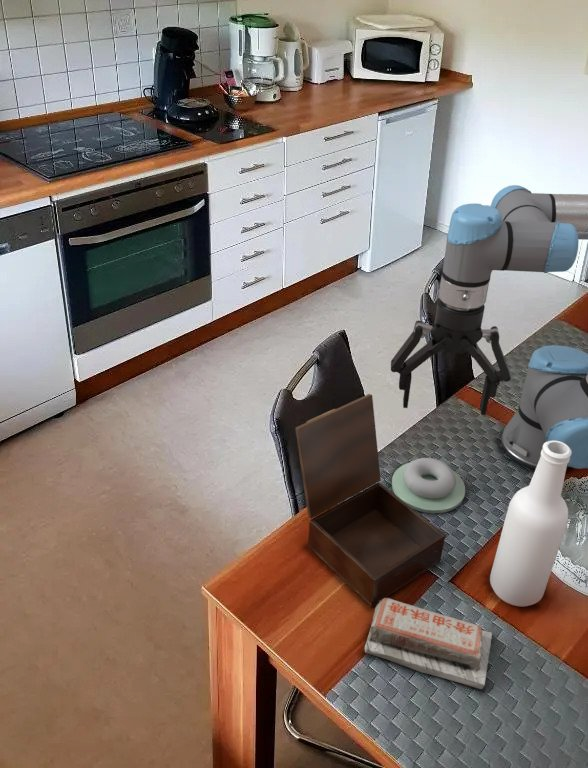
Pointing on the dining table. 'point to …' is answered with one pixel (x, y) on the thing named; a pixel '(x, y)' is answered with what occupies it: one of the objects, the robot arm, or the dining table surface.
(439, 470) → the donut
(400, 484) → the saucer
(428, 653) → the packaged product
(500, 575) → the alcohol
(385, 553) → the wooden box
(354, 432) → the lid
